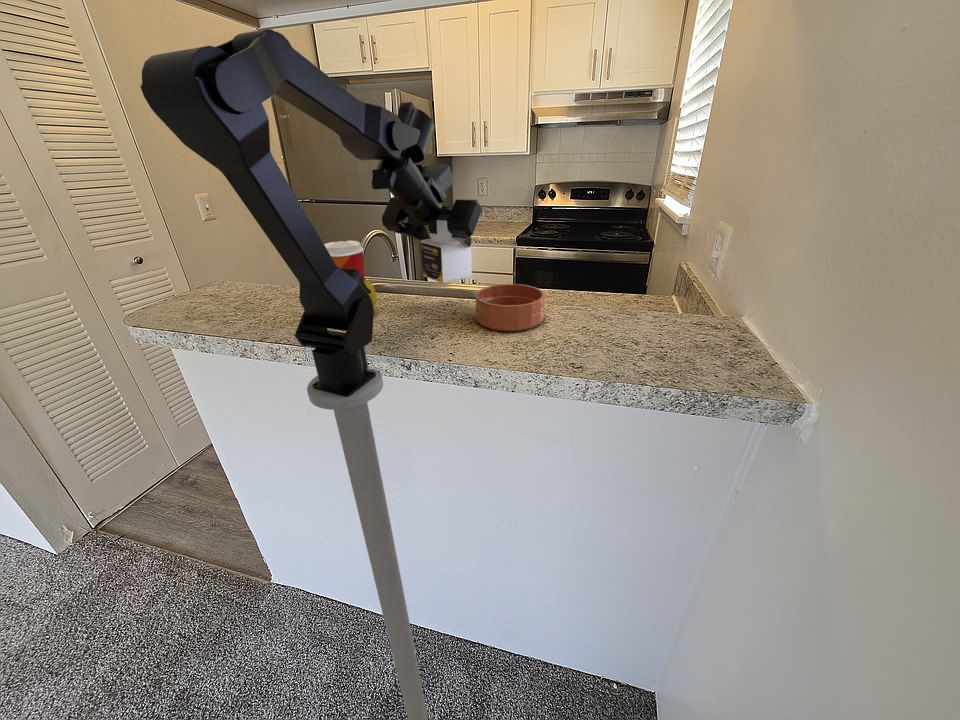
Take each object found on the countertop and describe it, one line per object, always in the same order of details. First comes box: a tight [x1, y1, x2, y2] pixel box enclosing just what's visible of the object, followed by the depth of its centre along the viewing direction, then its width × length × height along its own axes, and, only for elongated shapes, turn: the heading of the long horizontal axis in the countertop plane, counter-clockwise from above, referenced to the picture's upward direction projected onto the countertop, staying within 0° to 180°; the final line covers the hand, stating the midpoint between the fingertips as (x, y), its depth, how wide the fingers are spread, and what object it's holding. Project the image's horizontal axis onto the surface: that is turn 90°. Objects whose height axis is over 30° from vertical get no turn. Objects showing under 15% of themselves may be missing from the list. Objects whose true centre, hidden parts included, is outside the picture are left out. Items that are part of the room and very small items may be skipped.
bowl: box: [475, 283, 546, 332], centre depth 76 cm, size 13×13×5 cm
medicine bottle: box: [420, 220, 472, 284], centre depth 78 cm, size 7×7×12 cm
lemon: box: [364, 278, 377, 309], centre depth 79 cm, size 6×6×8 cm
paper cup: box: [324, 240, 366, 281], centre depth 77 cm, size 8×8×14 cm
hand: (450, 243), depth 79 cm, fingers closed on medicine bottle, 9 cm apart
